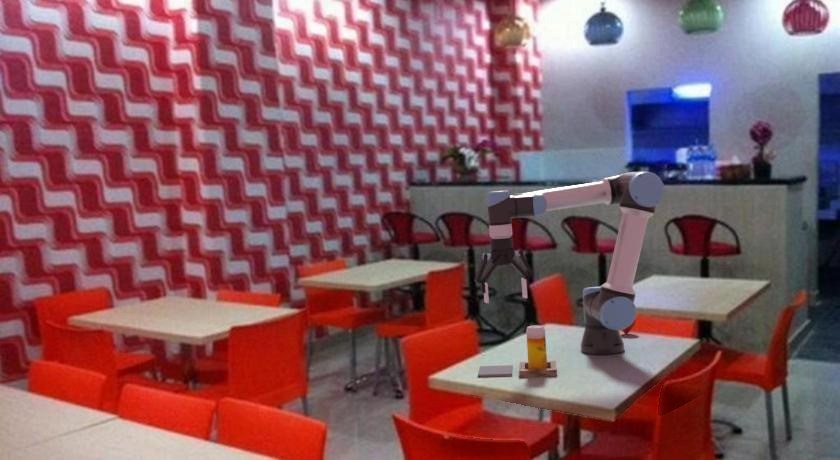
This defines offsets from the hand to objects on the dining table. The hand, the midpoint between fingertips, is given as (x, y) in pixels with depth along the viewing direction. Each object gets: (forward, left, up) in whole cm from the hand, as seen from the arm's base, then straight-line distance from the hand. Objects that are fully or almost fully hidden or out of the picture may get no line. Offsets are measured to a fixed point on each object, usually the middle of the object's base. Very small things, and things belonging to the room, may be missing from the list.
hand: (506, 300), depth 259 cm
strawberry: (-44, -48, -24) cm, 69 cm away
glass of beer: (-9, +5, -24) cm, 26 cm away
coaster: (+5, +4, -23) cm, 24 cm away
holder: (-9, +5, -23) cm, 26 cm away
